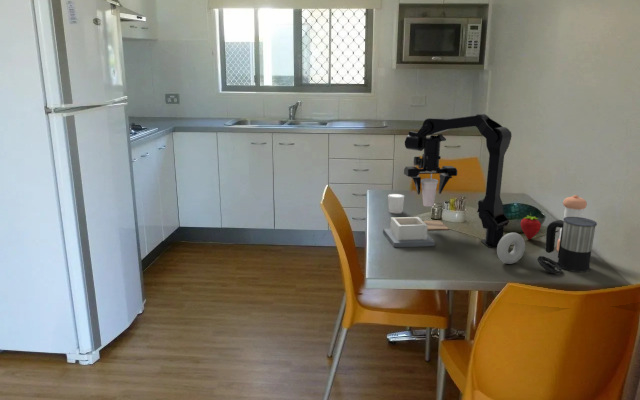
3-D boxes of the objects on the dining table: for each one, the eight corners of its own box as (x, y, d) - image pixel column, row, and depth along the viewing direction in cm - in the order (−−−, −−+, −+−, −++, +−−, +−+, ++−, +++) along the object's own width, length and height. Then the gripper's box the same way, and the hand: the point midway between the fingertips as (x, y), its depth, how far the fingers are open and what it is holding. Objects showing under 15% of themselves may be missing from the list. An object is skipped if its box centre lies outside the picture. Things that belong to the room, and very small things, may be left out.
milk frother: (591, 265, 163) (598, 219, 160) (586, 282, 150) (593, 232, 146) (542, 256, 170) (548, 212, 167) (533, 272, 157) (539, 224, 154)
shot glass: (385, 212, 219) (386, 196, 217) (388, 208, 225) (389, 192, 224) (402, 214, 217) (403, 197, 215) (404, 210, 223) (405, 194, 222)
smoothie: (439, 207, 195) (441, 169, 192) (423, 207, 194) (425, 170, 190) (433, 202, 201) (434, 166, 198) (417, 203, 200) (418, 167, 197)
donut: (518, 259, 167) (521, 229, 165) (526, 263, 164) (529, 232, 162) (492, 263, 163) (495, 232, 161) (500, 267, 160) (503, 236, 158)
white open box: (434, 245, 179) (435, 227, 177) (394, 247, 177) (395, 228, 176) (420, 231, 194) (421, 214, 193) (382, 232, 193) (383, 215, 191)
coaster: (448, 229, 197) (448, 228, 197) (420, 230, 196) (420, 229, 196) (439, 221, 208) (439, 220, 208) (411, 221, 207) (411, 220, 206)
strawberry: (530, 243, 183) (533, 215, 180) (514, 237, 189) (517, 210, 187) (543, 241, 185) (546, 214, 182) (527, 235, 192) (530, 208, 189)
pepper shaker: (566, 255, 171) (574, 198, 166) (551, 248, 178) (558, 193, 173) (585, 253, 173) (593, 197, 168) (569, 246, 180) (577, 192, 175)
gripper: (447, 148, 202) (445, 188, 206) (400, 149, 199) (398, 189, 203) (459, 153, 191) (456, 195, 195) (409, 154, 189) (407, 196, 192)
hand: (429, 194), depth 197 cm, fingers closed on smoothie, 8 cm apart
